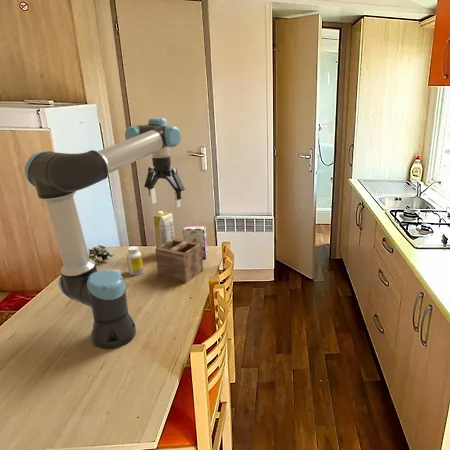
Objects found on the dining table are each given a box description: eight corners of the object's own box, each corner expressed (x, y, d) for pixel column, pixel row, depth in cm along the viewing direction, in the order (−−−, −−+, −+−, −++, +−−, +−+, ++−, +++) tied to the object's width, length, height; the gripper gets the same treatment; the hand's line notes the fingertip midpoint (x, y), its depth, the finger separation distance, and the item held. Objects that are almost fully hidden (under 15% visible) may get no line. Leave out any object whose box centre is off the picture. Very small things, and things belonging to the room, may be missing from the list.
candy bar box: (208, 255, 194) (206, 225, 189) (206, 259, 190) (204, 229, 184) (187, 254, 196) (185, 225, 191) (185, 258, 192) (182, 228, 186)
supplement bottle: (146, 271, 179) (143, 246, 175) (136, 276, 174) (133, 251, 170) (136, 268, 183) (133, 244, 178) (126, 273, 177) (122, 249, 173)
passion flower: (105, 269, 195) (116, 251, 193) (95, 275, 184) (107, 256, 182) (87, 257, 195) (98, 239, 193) (77, 263, 184) (88, 243, 182)
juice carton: (167, 250, 203) (163, 208, 195) (178, 253, 198) (174, 210, 190) (155, 256, 195) (150, 213, 187) (165, 259, 191) (161, 215, 183)
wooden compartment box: (185, 283, 166) (183, 254, 162) (158, 275, 174) (155, 248, 169) (203, 270, 177) (201, 243, 173) (176, 264, 185) (174, 238, 181)
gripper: (190, 156, 152) (193, 205, 159) (144, 153, 164) (149, 199, 171) (179, 159, 146) (183, 210, 153) (132, 156, 158) (138, 204, 165)
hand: (165, 205), depth 162 cm, fingers open, 13 cm apart
